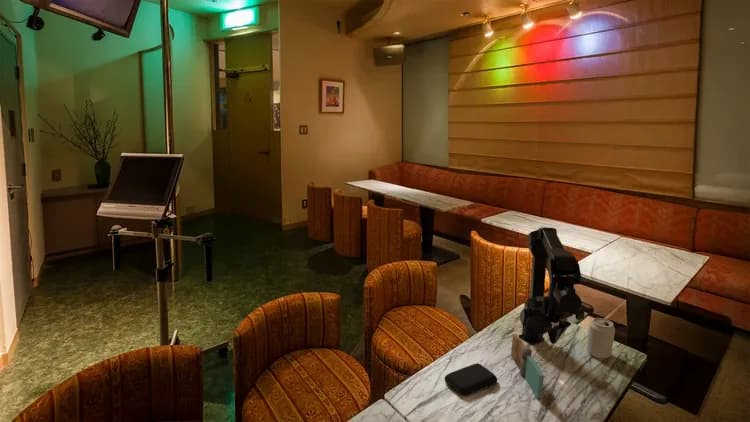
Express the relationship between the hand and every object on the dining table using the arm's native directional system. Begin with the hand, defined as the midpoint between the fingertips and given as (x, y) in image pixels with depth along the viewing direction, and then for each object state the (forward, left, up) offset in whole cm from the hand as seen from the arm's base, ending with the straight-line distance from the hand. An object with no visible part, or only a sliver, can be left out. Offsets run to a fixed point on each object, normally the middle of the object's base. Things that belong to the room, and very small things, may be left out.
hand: (552, 343), depth 133 cm
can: (-1, +26, -13) cm, 29 cm away
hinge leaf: (-1, -7, -12) cm, 14 cm away
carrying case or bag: (-10, -22, -13) cm, 27 cm away
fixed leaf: (-9, -3, -12) cm, 16 cm away
